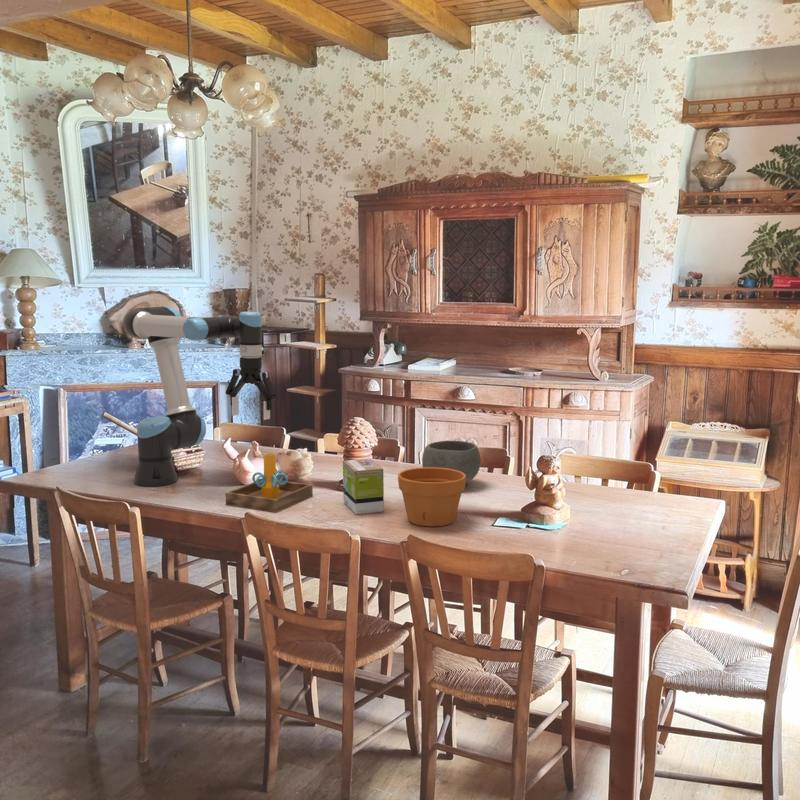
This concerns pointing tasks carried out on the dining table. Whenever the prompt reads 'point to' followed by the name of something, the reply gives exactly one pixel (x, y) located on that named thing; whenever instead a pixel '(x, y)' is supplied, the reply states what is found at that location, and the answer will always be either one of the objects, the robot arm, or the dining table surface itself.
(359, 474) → the tea box
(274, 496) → the orange toy with wheels
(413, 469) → the flower pot
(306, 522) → the dining table surface
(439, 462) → the bowl
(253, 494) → the tray
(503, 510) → the dining table surface
